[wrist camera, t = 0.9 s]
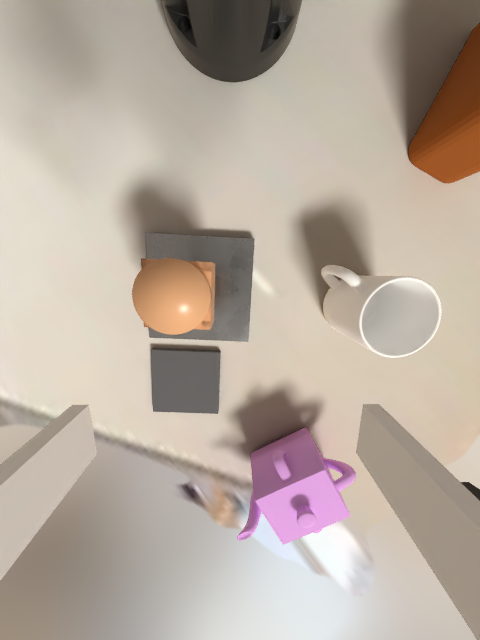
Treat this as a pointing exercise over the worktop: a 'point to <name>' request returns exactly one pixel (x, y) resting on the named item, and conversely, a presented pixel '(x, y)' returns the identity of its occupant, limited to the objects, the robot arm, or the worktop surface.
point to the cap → (175, 295)
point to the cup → (381, 310)
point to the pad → (185, 380)
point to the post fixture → (229, 280)
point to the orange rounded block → (453, 121)
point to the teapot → (296, 488)
